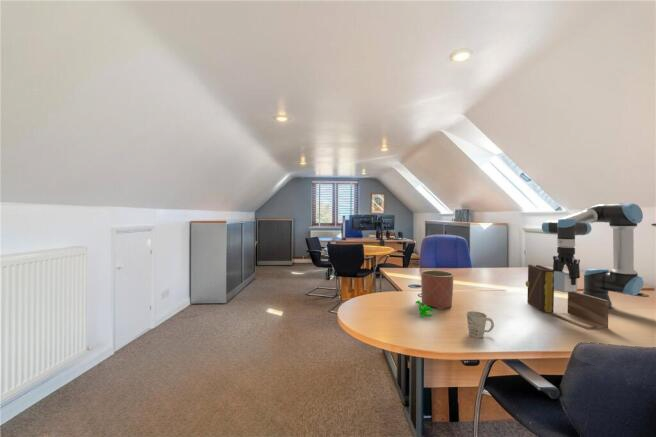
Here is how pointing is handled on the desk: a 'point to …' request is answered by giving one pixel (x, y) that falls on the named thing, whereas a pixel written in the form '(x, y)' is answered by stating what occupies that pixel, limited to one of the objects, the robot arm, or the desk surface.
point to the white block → (562, 281)
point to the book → (540, 288)
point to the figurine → (424, 310)
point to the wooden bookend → (586, 311)
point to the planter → (437, 288)
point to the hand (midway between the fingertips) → (565, 288)
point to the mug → (478, 324)
